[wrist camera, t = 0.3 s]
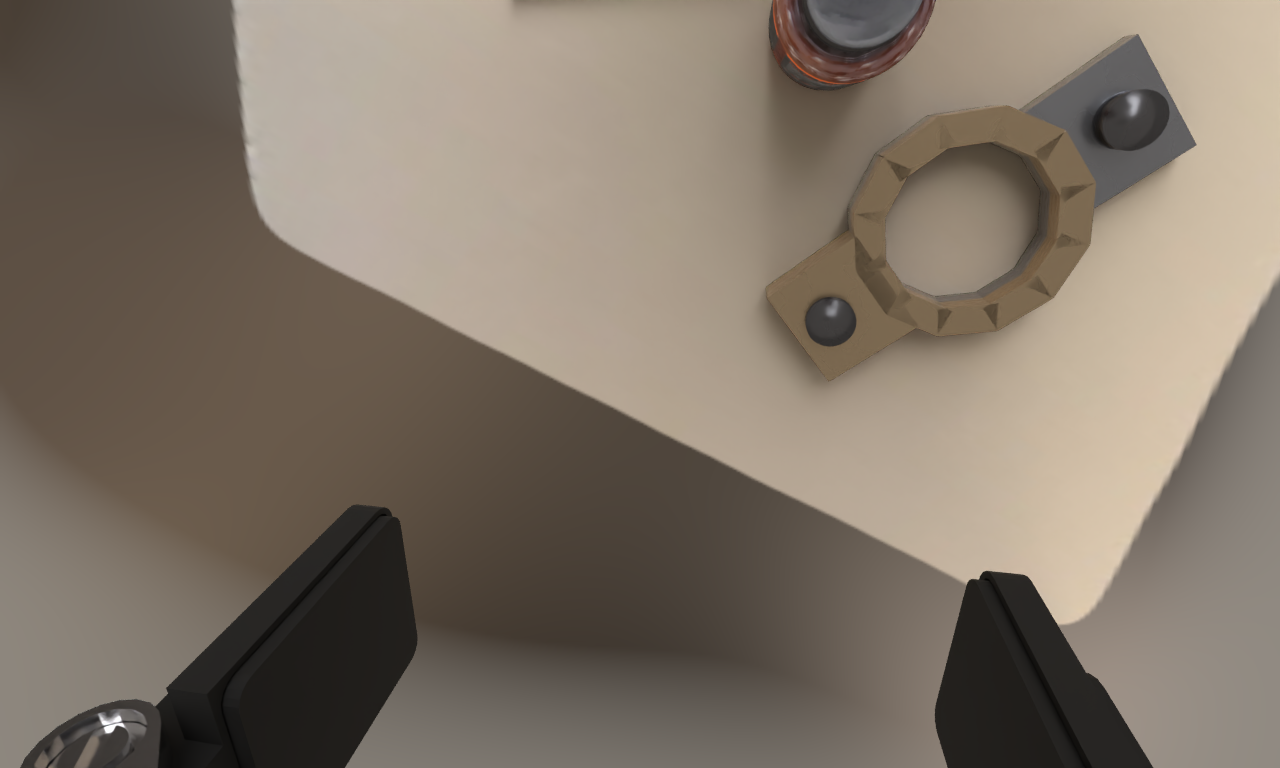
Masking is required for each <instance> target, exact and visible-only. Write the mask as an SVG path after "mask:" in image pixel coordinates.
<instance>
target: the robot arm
mask: <svg viewBox="0 0 1280 768" xmlns="http://www.w3.org/2000/svg"><path fill="white" fill-rule="evenodd" d="M416 646H417V630H416V624H415V618H414V611H413V604H412V597H411V591H410V585H409V578H408V571H407V565H406V558H405V552H404V545H403V538H402V532H401V525H400V521H399V520H398V518H396V517H392V514H391V512H390V510H389V509H387V508H384V507H375V506H366V505H353V506H351V507H350V508H348V509H347V510H346V511H345V512H344V513H343V514H342V515H341V516H340V517H339V518H338V519H337V520H336V521H335V522H334V523H333V524H332V525H331V526H330V527H329V528H328V529H327V530H326V531H325V532H324V533H323V534H322V535H321V536H320V537H319V538H318V539H317V540H316V541H315V542H314V543H313V544H312V545H311V546H310V547H309V548H308V549H307V550H306V551H305V552H304V553H303V554H302V555H301V556H300V557H299V558H297V559H296V561H295V562H293V563H292V565H291V566H289V568H287V569H286V570H285V571H284V572H283V573H282V574H281V575H280V576H279V578H277V579H276V580H275V581H274V582H273V583H272V584H271V585H270V586H269V587H268V588H267V589H266V590H265V591H264V592H263V593H262V594H261V595H260V596H259V597H258V598H257V599H256V600H255V601H254V602H253V603H252V604H251V605H250V606H249V607H248V608H247V609H246V610H245V611H244V612H243V613H242V614H241V615H240V616H239V617H238V618H237V619H236V620H235V621H234V622H233V623H232V624H231V625H230V626H229V627H228V628H227V629H226V630H225V631H224V632H223V633H222V634H221V635H219V636H218V637H217V638H216V639H215V641H213V642H212V644H210V645H209V646H208V647H207V648H206V649H205V650H204V651H203V652H202V653H201V654H200V655H199V656H198V657H197V658H196V659H195V660H194V661H193V662H192V663H191V664H190V665H189V666H188V667H187V668H186V669H185V670H184V671H183V672H182V673H181V674H180V675H179V676H178V677H177V678H176V679H175V680H174V681H173V682H172V683H171V684H170V685H169V686H168V687H167V688H166V689H167V692H168V694H167V696H165V697H164V698H163V700H161V701H160V703H158V705H157V706H153V704H151V703H150V702H146V701H142V700H138V699H132V700H118V701H114V702H110V703H107V704H102V705H99V706H97V707H94V708H92V709H90V710H87V711H85V712H82V713H80V714H78V715H76V716H74V717H73V718H71V719H69V720H68V721H66V722H65V723H63V724H61V725H59V726H58V727H56V728H55V729H54V730H53V731H52V732H50V733H49V734H48V735H47V736H45V737H44V738H43V739H42V740H40V741H39V742H38V743H37V745H36V746H35V747H34V748H33V749H32V750H31V751H30V753H29V754H28V755H27V756H26V757H25V759H24V761H23V763H22V765H21V767H20V768H345V766H346V765H347V763H348V762H349V760H350V758H351V757H352V755H353V754H354V752H355V750H356V749H357V747H358V745H359V744H360V742H361V741H362V739H363V737H364V736H365V734H366V733H367V731H368V729H369V728H370V726H371V724H372V723H373V721H374V720H375V718H376V716H377V715H378V713H379V711H380V710H381V708H382V707H383V705H384V704H385V702H386V700H387V699H388V697H389V695H390V694H391V692H392V691H393V689H394V687H395V686H396V684H397V682H398V681H399V679H400V678H401V676H402V674H403V673H404V671H405V669H406V668H407V666H408V664H409V663H410V661H411V660H412V658H413V656H414V653H415V650H416ZM935 723H936V729H937V733H938V737H939V740H940V744H941V747H942V750H943V753H944V756H945V760H946V763H947V767H948V768H1153V767H1152V765H1151V763H1150V762H1149V760H1148V758H1147V757H1146V755H1145V753H1144V752H1143V750H1142V749H1141V747H1140V745H1139V744H1138V742H1137V741H1136V739H1135V737H1134V736H1133V734H1132V732H1131V731H1130V729H1129V727H1128V726H1127V724H1126V723H1125V721H1124V719H1123V718H1122V716H1121V714H1120V713H1119V711H1118V709H1117V708H1116V706H1115V704H1114V703H1113V701H1112V700H1111V698H1110V696H1109V695H1108V693H1107V691H1106V690H1105V688H1104V687H1103V686H1102V684H1101V683H1100V682H1099V681H1098V679H1097V678H1095V677H1094V676H1092V675H1091V674H1089V673H1086V672H1085V670H1084V669H1083V667H1082V665H1081V664H1080V662H1079V660H1078V659H1077V657H1076V655H1075V654H1074V652H1073V650H1072V649H1071V647H1070V645H1069V643H1068V642H1067V640H1066V638H1065V637H1064V635H1063V634H1062V632H1061V630H1060V628H1059V627H1058V625H1057V623H1056V622H1055V620H1054V618H1053V617H1052V615H1051V613H1050V612H1049V610H1048V608H1047V607H1046V605H1045V603H1044V602H1043V600H1042V598H1041V597H1040V595H1039V593H1038V592H1037V590H1036V588H1035V586H1034V585H1033V583H1032V581H1031V580H1030V579H1029V578H1028V577H1027V576H1025V575H1021V574H1011V573H1002V572H992V571H985V572H983V573H982V574H981V576H980V578H979V580H977V579H971V580H969V582H968V583H967V586H966V590H965V594H964V597H963V601H962V605H961V609H960V613H959V617H958V621H957V625H956V629H955V633H954V636H953V640H952V644H951V648H950V652H949V656H948V660H947V663H946V667H945V671H944V675H943V679H942V683H941V687H940V691H939V694H938V698H937V702H936V708H935Z"/></svg>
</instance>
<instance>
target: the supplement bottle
mask: <svg viewBox="0 0 1280 768" xmlns="http://www.w3.org/2000/svg"><path fill="white" fill-rule="evenodd" d="M935 1H936V0H773V2H772V7H771V12H770V18H769V38H770V43H771V47H772V51H773V53H774V56H775V58H776V60H777V62H778V64H779V66H780V67H781V69H782V70H783V71H784V73H785V74H786V75H787V76H789V77H790V78H791V79H792V80H794V81H795V82H797V83H798V84H800V85H802V86H805V87H808V88H811V89H815V90H835V89H841V88H844V87H847V86H850V85H853V84H856V83H859V82H862V81H865V80H867V79H870V78H872V77H875V76H877V75H879V74H881V73H883V72H885V71H886V70H888V69H890V68H891V67H892V66H894V65H895V64H897V63H898V62H899V61H900V60H902V58H903V57H904V56H905V55H906V54H907V53H908V52H909V51H910V50H911V49H912V47H913V46H914V45H915V44H916V42H917V41H918V39H919V38H920V37H921V35H922V33H923V32H924V30H925V27H926V26H927V24H928V21H929V19H930V17H931V14H932V11H933V8H934V4H935Z"/></svg>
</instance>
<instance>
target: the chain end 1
mask: <svg viewBox="0 0 1280 768" xmlns="http://www.w3.org/2000/svg"><path fill="white" fill-rule="evenodd" d="M987 142H995V143H997V144H999V145H1002V146H1004V147H1006V148H1009V149H1011V150H1013V151H1016V152H1018V153H1021V154H1023V155H1025V156H1028V157H1029V158H1030V160H1031V162H1032V163H1033V165H1034V167H1035V168H1036V170H1037V172H1038V173H1039V175H1040V177H1041V178H1042V180H1043V182H1044V183H1045V185H1046V187H1047V188H1048V190H1049V192H1050V201H1049V215H1048V229H1047V237H1046V238H1045V240H1044V241H1043V243H1042V244H1041V246H1040V247H1039V249H1038V250H1037V252H1036V253H1035V255H1034V256H1033V258H1032V260H1031V261H1030V263H1029V264H1028V266H1027V267H1026V269H1025V270H1024V272H1023V273H1022V274H1021V275H1020V276H1018V277H1016V278H1015V279H1013V280H1011V281H1010V282H1008V283H1007V284H1005V285H1003V286H1002V287H1000V288H998V289H997V290H995V291H993V292H992V293H990V294H988V295H987V296H985V297H983V298H978V299H968V300H958V301H949V302H937V301H935V300H933V299H930V298H928V297H926V296H923V295H921V294H919V293H916V292H914V291H911V290H909V289H907V288H904V286H903V285H902V283H901V282H900V280H899V279H898V277H897V276H896V274H895V273H894V271H893V270H892V269H891V267H890V266H889V264H888V263H887V261H886V244H885V217H886V215H887V214H888V212H889V210H890V208H891V206H892V204H893V203H894V201H895V199H896V197H897V195H898V193H899V191H900V190H901V188H902V186H903V184H904V182H905V180H906V178H907V177H908V176H909V175H911V174H912V173H914V172H915V171H917V170H918V169H919V168H921V167H922V166H924V165H925V164H926V163H928V162H929V161H931V160H932V159H934V158H935V157H936V156H938V155H939V154H941V153H942V152H943V151H945V150H946V149H948V148H953V147H959V146H966V145H973V144H980V143H987ZM1095 182H1096V181H1095V180H1094V178H1093V176H1092V174H1091V173H1090V171H1089V169H1088V167H1087V166H1086V164H1085V162H1084V161H1083V159H1082V157H1081V155H1080V154H1079V152H1078V150H1077V148H1076V147H1075V145H1074V143H1073V141H1072V140H1071V138H1070V136H1069V135H1068V133H1067V131H1065V130H1064V129H1062V128H1059V127H1057V126H1055V125H1052V124H1050V123H1048V122H1045V121H1043V120H1041V119H1038V118H1036V117H1034V116H1031V115H1029V114H1026V113H1024V112H1022V111H1019V110H1017V109H1015V108H1012V107H1010V106H993V107H986V108H980V109H974V110H967V111H961V112H954V113H948V114H941V115H935V116H932V117H931V118H930V119H928V120H927V121H925V122H924V123H923V124H921V125H920V126H919V127H917V128H916V129H914V130H913V131H912V132H910V133H909V134H908V135H906V136H905V137H904V138H902V139H901V140H899V141H898V142H897V143H895V144H894V145H893V146H891V147H890V148H888V149H887V150H886V151H884V152H883V153H882V154H880V156H878V158H877V160H876V162H875V164H874V166H873V168H872V170H871V172H870V174H869V176H868V178H867V180H866V182H865V184H864V186H863V187H862V189H861V191H860V193H859V195H858V197H857V199H856V201H855V203H854V205H853V207H852V209H851V232H850V231H849V230H847V231H846V232H844V233H843V234H841V235H840V236H838V237H837V238H836V239H834V240H833V241H831V242H830V243H828V244H827V245H826V246H824V247H823V248H821V249H820V250H818V251H817V252H816V253H814V254H813V255H811V256H810V257H808V258H807V259H806V260H804V261H803V262H801V263H800V264H798V265H797V266H795V267H794V268H793V269H791V270H790V271H788V272H787V273H785V274H784V275H783V276H781V277H780V278H778V279H777V280H775V281H774V282H773V283H771V284H770V285H768V286H767V287H766V294H767V299H768V300H769V302H770V303H771V305H772V306H773V307H774V309H775V310H776V311H777V313H778V314H779V315H780V317H781V318H782V319H783V321H784V322H785V323H786V325H787V326H788V327H789V329H790V330H791V332H792V333H793V334H794V336H795V337H796V338H797V340H798V341H799V342H800V344H801V345H802V346H803V348H804V349H805V350H806V352H807V353H808V354H809V356H810V357H811V359H812V360H813V361H814V363H815V364H816V365H817V367H818V368H819V369H820V371H821V372H822V373H823V375H824V376H825V377H826V379H827V380H828V381H831V380H832V379H834V378H836V377H837V376H839V375H841V374H842V373H844V372H845V371H847V370H849V369H850V368H852V367H854V366H855V365H857V364H858V363H860V362H862V361H863V360H865V359H867V358H868V357H870V356H872V355H873V354H875V353H876V352H878V351H880V350H881V349H883V348H885V347H886V346H888V345H890V344H891V343H893V342H894V341H896V340H898V339H899V338H901V337H903V336H904V335H906V334H907V333H909V332H911V331H912V330H914V329H916V328H918V329H921V330H923V331H925V332H928V333H930V334H932V335H935V336H948V335H959V334H970V333H980V332H991V331H998V330H1000V329H1001V328H1003V327H1005V326H1007V325H1008V324H1010V323H1012V322H1013V321H1015V320H1017V319H1019V318H1020V317H1022V316H1024V315H1025V314H1027V313H1029V312H1031V311H1032V310H1034V309H1036V308H1037V307H1039V306H1041V305H1043V304H1044V303H1046V302H1048V301H1049V300H1051V299H1053V298H1054V296H1055V295H1056V293H1057V292H1058V291H1059V289H1060V288H1061V286H1062V285H1063V283H1064V282H1065V280H1066V279H1067V278H1068V276H1069V275H1070V273H1071V272H1072V270H1073V269H1074V267H1075V266H1076V264H1077V263H1078V262H1079V260H1080V259H1081V257H1082V256H1083V254H1084V253H1085V251H1086V250H1087V249H1088V247H1089V246H1090V245H1089V244H1090V242H1091V231H1092V221H1093V210H1094V200H1095V190H1096V183H1095Z"/></svg>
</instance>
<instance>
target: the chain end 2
mask: <svg viewBox="0 0 1280 768" xmlns="http://www.w3.org/2000/svg"><path fill="white" fill-rule="evenodd" d="M986 107H993V106H985V107H978V108H972V109H966V110H959V111H953V112H946V113H940V114H934V115H928V116H926V117H925V118H923V119H922V120H920V121H919V122H918V123H916V124H915V125H914V126H912V127H911V128H910V129H908V130H907V131H905V132H904V133H903V134H901V135H900V136H899V137H897V138H896V139H895V140H893V141H892V142H890V143H889V144H888V145H886V146H885V147H884V148H882V149H881V150H880V151H878V152H877V153H875V154H876V155H874V157H873V159H872V161H871V163H870V164H869V166H868V168H867V170H866V172H865V174H864V176H863V178H862V180H861V182H860V184H859V186H858V188H857V190H856V192H855V194H854V196H853V198H852V200H851V202H850V204H849V206H848V230H849V231H850V232H851V209H852V207H853V205H854V203H855V201H856V199H857V197H858V195H859V193H860V191H861V189H862V187H863V186H864V184H865V182H866V180H867V178H868V176H869V174H870V172H871V170H872V168H873V166H874V164H875V162H876V160H877V158H878V156H880V154H882V153H883V152H884V151H886V150H887V149H888V148H890V147H891V146H893V145H894V144H895V143H897V142H898V141H899V140H901V139H902V138H904V137H905V136H906V135H908V134H909V133H910V132H912V131H913V130H914V129H916V128H917V127H919V126H920V125H921V124H923V123H924V122H925V121H927V120H928V119H930V118H931V117H932V116H935V115H941V114H948V113H954V112H961V111H967V110H974V109H980V108H986ZM1019 111H1022V112H1024V113H1026V114H1029V115H1031V116H1034V117H1036V118H1038V119H1041V120H1043V121H1045V122H1048V123H1050V124H1052V125H1055V126H1057V127H1059V128H1062V129H1064V130H1065V131H1067V133H1068V135H1069V136H1070V138H1071V140H1072V141H1073V143H1074V145H1075V147H1076V148H1077V150H1078V152H1079V154H1080V155H1081V157H1082V159H1083V161H1084V162H1085V164H1086V166H1087V167H1088V169H1089V171H1090V173H1091V174H1092V176H1093V178H1094V180H1095V181H1096V182H1095V183H1096V190H1095V200H1094V208H1096V207H1097V206H1099V205H1100V204H1102V203H1104V202H1105V201H1107V200H1108V199H1110V198H1112V197H1113V196H1115V195H1117V194H1118V193H1120V192H1121V191H1123V190H1125V189H1126V188H1128V187H1130V186H1131V185H1133V184H1134V183H1136V182H1138V181H1139V180H1141V179H1142V178H1144V177H1146V176H1147V175H1149V174H1151V173H1152V172H1154V171H1155V170H1157V169H1159V168H1160V167H1162V166H1163V165H1165V164H1167V163H1168V162H1170V161H1172V160H1173V159H1175V158H1176V157H1178V156H1180V155H1181V154H1183V153H1185V152H1186V151H1188V150H1189V149H1191V148H1193V147H1194V146H1196V143H1195V141H1194V139H1193V137H1192V135H1191V133H1190V132H1189V130H1188V128H1187V126H1186V124H1185V122H1184V120H1183V118H1182V116H1181V115H1180V113H1179V111H1178V109H1177V107H1176V105H1175V103H1174V101H1173V99H1172V98H1171V96H1170V94H1169V92H1168V90H1167V88H1166V86H1165V84H1164V82H1163V81H1162V79H1161V77H1160V75H1159V73H1158V71H1157V69H1156V67H1155V65H1154V63H1153V62H1152V60H1151V58H1150V56H1149V54H1148V52H1147V50H1146V48H1145V46H1144V45H1143V43H1142V41H1141V39H1140V37H1139V35H1138V34H1136V35H1131V36H1126V37H1123V38H1122V39H1120V40H1119V41H1117V42H1116V43H1115V44H1113V45H1112V46H1110V47H1109V48H1107V49H1106V50H1105V51H1103V52H1102V53H1100V54H1099V55H1097V56H1096V57H1095V58H1093V59H1092V60H1090V61H1089V62H1087V63H1086V64H1085V65H1083V66H1082V67H1080V68H1079V69H1077V70H1076V71H1075V72H1073V73H1072V74H1070V75H1069V76H1067V77H1066V78H1065V79H1063V80H1062V81H1060V82H1059V83H1057V84H1056V85H1055V86H1053V87H1052V88H1050V89H1049V90H1047V91H1046V92H1044V93H1043V94H1042V95H1040V96H1039V97H1037V98H1036V99H1034V100H1033V101H1032V102H1030V103H1029V104H1027V105H1026V106H1024V107H1023V108H1022V109H1020V110H1019ZM989 143H992V144H994V145H996V146H999V147H1001V148H1004V149H1006V150H1008V151H1011V152H1013V153H1015V154H1018V155H1020V157H1021V159H1022V160H1023V162H1024V164H1025V165H1026V167H1027V169H1028V170H1029V172H1030V174H1031V175H1032V177H1033V179H1034V180H1035V182H1036V184H1037V185H1038V187H1039V189H1040V203H1039V218H1038V232H1037V234H1036V235H1035V237H1034V238H1033V240H1032V241H1031V243H1030V244H1029V246H1028V247H1027V249H1026V251H1025V252H1024V254H1023V255H1022V257H1021V258H1020V260H1019V261H1018V263H1017V264H1016V266H1015V267H1014V269H1013V270H1011V271H1009V272H1008V273H1006V274H1005V275H1003V276H1001V277H1000V278H998V279H996V280H995V281H993V282H992V283H990V284H988V285H987V286H985V287H983V288H982V289H980V290H978V291H977V292H973V293H964V294H954V295H944V296H935V297H934V296H932V295H929V294H927V293H924V292H922V291H920V290H917V289H915V288H913V287H910V286H908V285H905V284H903V283H902V285H903V286H904V288H907V289H909V290H911V291H914V292H916V293H919V294H921V295H923V296H926V297H928V298H930V299H933V300H935V301H937V302H949V301H958V300H968V299H978V298H983V297H985V296H987V295H988V294H990V293H992V292H993V291H995V290H997V289H998V288H1000V287H1002V286H1003V285H1005V284H1007V283H1008V282H1010V281H1011V280H1013V279H1015V278H1016V277H1018V276H1020V275H1021V274H1022V273H1023V272H1024V270H1025V269H1026V267H1027V266H1028V264H1029V263H1030V261H1031V260H1032V258H1033V256H1034V255H1035V253H1036V252H1037V250H1038V249H1039V247H1040V246H1041V244H1042V243H1043V241H1044V240H1045V238H1046V237H1047V229H1048V215H1049V201H1050V192H1049V190H1048V188H1047V187H1046V185H1045V183H1044V182H1043V180H1042V178H1041V177H1040V175H1039V173H1038V172H1037V170H1036V168H1035V167H1034V165H1033V163H1032V162H1031V160H1030V158H1029V157H1028V156H1025V155H1023V154H1021V153H1018V152H1016V151H1013V150H1011V149H1009V148H1006V147H1004V146H1002V145H999V144H997V143H995V142H989Z"/></svg>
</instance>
